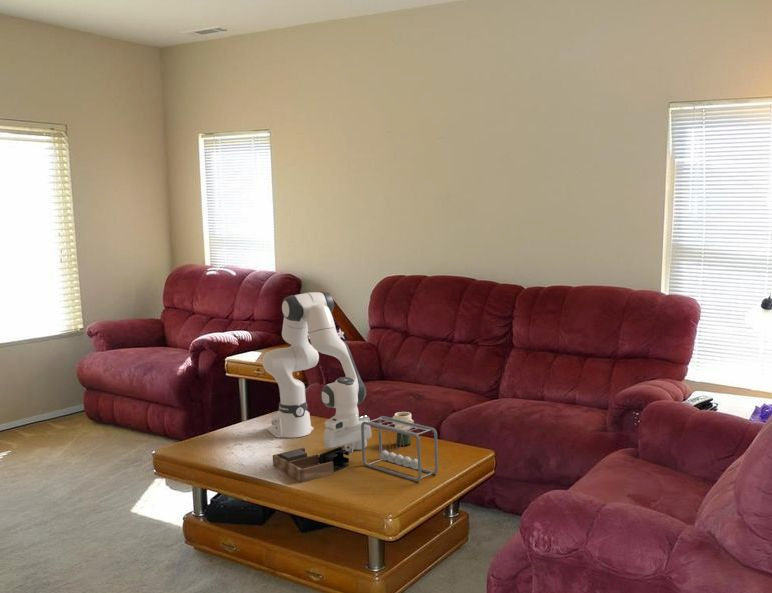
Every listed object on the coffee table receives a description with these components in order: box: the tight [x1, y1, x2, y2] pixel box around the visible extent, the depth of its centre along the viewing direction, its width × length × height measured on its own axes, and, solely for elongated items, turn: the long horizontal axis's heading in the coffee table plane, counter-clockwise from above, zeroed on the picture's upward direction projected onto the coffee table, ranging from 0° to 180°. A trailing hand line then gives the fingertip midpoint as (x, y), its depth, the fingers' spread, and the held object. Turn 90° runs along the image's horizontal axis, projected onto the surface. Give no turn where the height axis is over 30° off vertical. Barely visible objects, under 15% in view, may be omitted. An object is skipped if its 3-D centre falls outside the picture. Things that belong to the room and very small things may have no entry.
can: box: [348, 439, 368, 451], centre depth 310 cm, size 8×8×12 cm
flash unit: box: [281, 448, 308, 461], centre depth 290 cm, size 6×8×6 cm
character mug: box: [392, 411, 415, 446], centre depth 312 cm, size 11×7×13 cm, turn 51°
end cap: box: [318, 446, 350, 472], centre depth 288 cm, size 10×7×7 cm
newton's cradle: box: [361, 415, 439, 482], centre depth 282 cm, size 30×10×18 cm, turn 46°
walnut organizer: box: [272, 447, 334, 483], centre depth 286 cm, size 23×14×4 cm, turn 36°
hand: (348, 454), depth 292 cm, fingers closed
